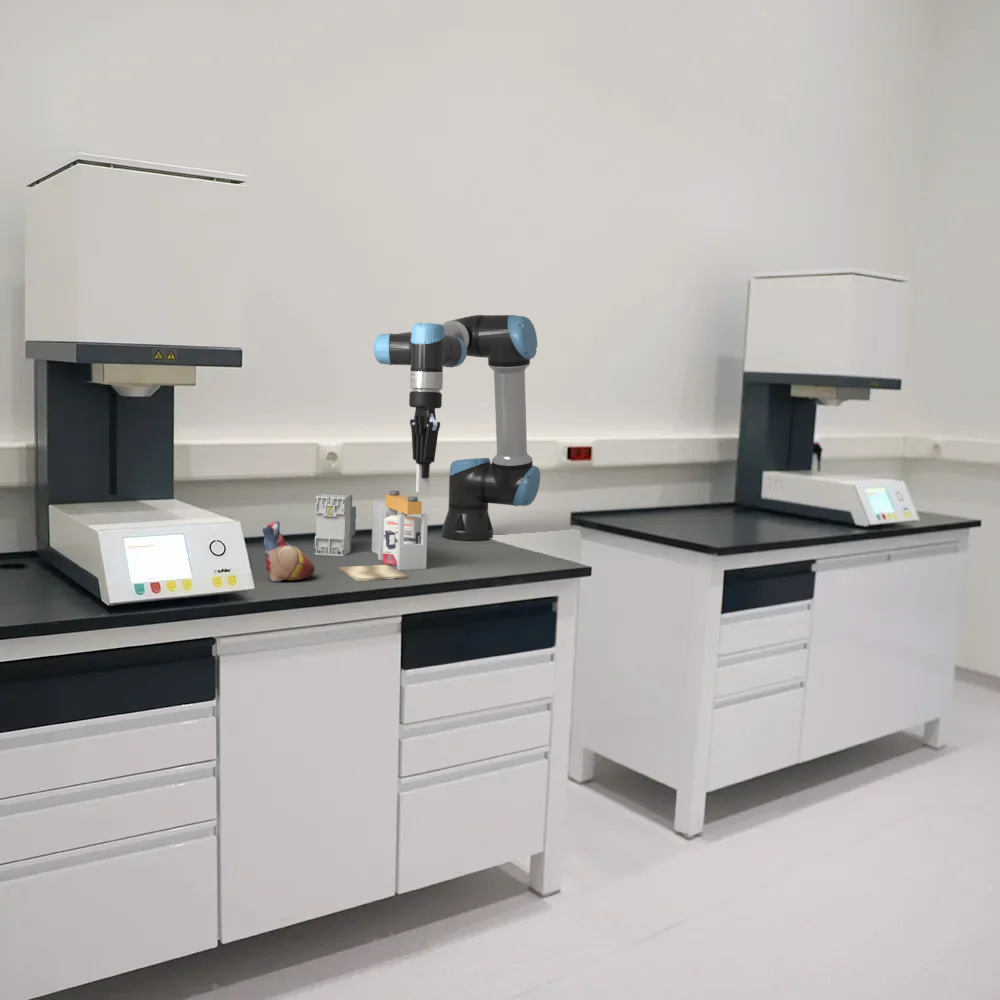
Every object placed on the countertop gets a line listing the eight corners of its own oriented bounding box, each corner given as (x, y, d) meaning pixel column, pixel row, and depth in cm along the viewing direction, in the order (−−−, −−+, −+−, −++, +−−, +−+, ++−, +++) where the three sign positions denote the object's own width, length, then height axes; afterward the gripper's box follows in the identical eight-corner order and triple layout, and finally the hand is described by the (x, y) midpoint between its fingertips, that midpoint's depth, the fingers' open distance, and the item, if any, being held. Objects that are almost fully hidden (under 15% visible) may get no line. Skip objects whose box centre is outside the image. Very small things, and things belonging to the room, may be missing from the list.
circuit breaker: (356, 547, 270) (357, 491, 268) (343, 556, 255) (344, 498, 254) (329, 545, 270) (330, 490, 268) (314, 554, 256) (315, 496, 254)
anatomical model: (305, 589, 219) (284, 526, 215) (269, 594, 222) (247, 533, 218) (321, 570, 228) (301, 510, 224) (287, 576, 231) (267, 516, 226)
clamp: (388, 550, 266) (389, 500, 265) (426, 568, 243) (427, 514, 241) (363, 551, 263) (364, 501, 262) (399, 570, 240) (400, 515, 238)
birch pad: (386, 567, 243) (386, 564, 243) (407, 578, 231) (407, 575, 230) (339, 569, 238) (339, 567, 238) (357, 581, 225) (357, 578, 225)
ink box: (381, 564, 247) (382, 517, 245) (389, 560, 251) (391, 514, 250) (413, 567, 244) (415, 519, 243) (421, 564, 249) (422, 517, 248)
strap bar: (398, 505, 254) (399, 490, 253) (421, 514, 240) (421, 497, 240) (385, 506, 252) (385, 490, 252) (407, 514, 239) (407, 497, 238)
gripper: (400, 389, 235) (397, 488, 238) (421, 390, 224) (417, 495, 227) (430, 390, 239) (426, 488, 241) (452, 391, 227) (448, 494, 230)
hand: (422, 491), depth 234 cm, fingers closed
